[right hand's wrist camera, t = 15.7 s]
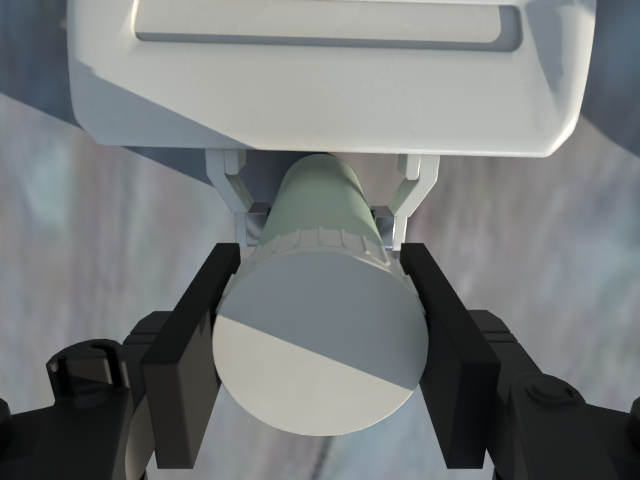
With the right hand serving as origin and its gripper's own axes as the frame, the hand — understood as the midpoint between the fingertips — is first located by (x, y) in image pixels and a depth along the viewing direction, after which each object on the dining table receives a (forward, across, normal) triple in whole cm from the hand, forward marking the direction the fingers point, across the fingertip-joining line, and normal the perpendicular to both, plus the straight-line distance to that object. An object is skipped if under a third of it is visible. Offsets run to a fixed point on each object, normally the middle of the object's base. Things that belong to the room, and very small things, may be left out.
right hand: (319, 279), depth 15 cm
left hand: (+6, 0, -1) cm, 6 cm away
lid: (-4, 0, 0) cm, 4 cm away
